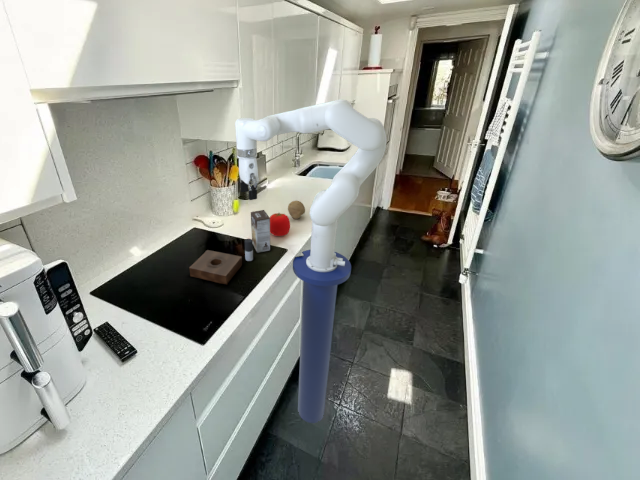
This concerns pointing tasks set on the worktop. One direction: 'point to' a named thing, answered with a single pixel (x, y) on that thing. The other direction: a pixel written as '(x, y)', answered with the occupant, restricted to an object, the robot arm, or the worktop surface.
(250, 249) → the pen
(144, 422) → the worktop surface
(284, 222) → the tomato
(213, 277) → the holder
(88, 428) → the worktop surface
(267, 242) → the coffee box
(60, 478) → the worktop surface
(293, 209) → the natural sponge
